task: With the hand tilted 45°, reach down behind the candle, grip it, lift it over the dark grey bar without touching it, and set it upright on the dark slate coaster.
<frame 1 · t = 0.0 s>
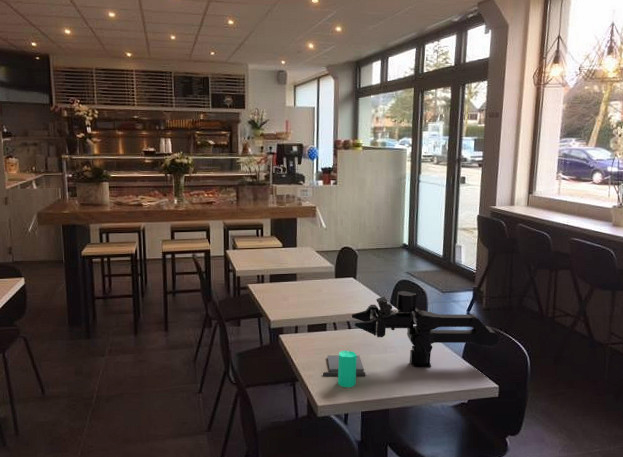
hand: (353, 320, 197), 17 cm above the table, tool horizontal, fingers open, 9 cm apart
slate coaster: (344, 364, 199), on the table
candle: (346, 383, 184), on the table
dark grey bar: (344, 376, 190), on the table
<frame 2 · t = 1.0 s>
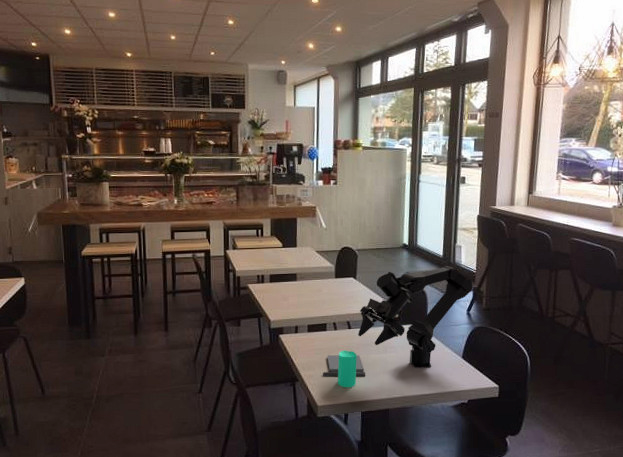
hand: (367, 339, 186), 14 cm above the table, tool tilted 45°, fingers open, 9 cm apart
nothing on the table moved.
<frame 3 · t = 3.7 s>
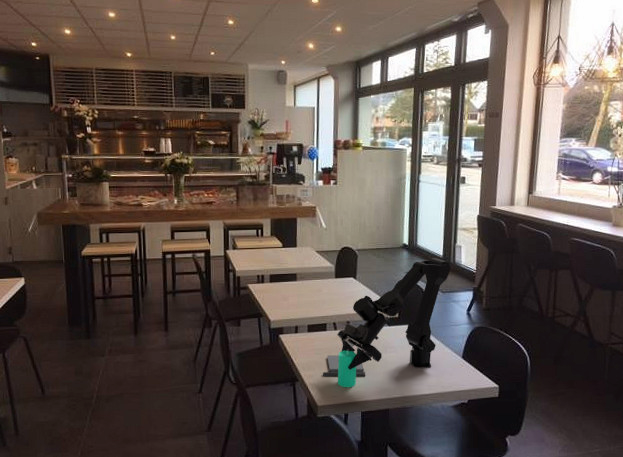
hand: (343, 365, 182), 7 cm above the table, tool tilted 45°, fingers closed on candle, 5 cm apart
candle: (346, 383, 184), on the table, touching gripper
everything else where it was.
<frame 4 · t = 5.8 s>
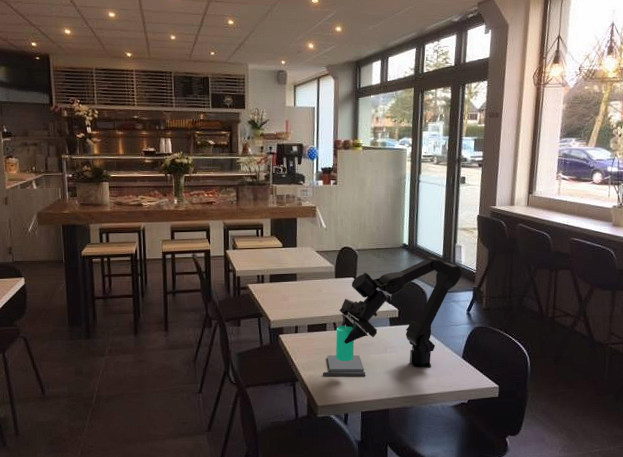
hand: (341, 339, 187), 13 cm above the table, tool tilted 45°, fingers closed on candle, 5 cm apart
candle: (344, 358, 189), point 6 cm above the table, touching gripper
everything else where it was.
when the fingers open (9 cm above the table, at t = 8.1 s): candle drops 1 cm, resting on slate coaster.
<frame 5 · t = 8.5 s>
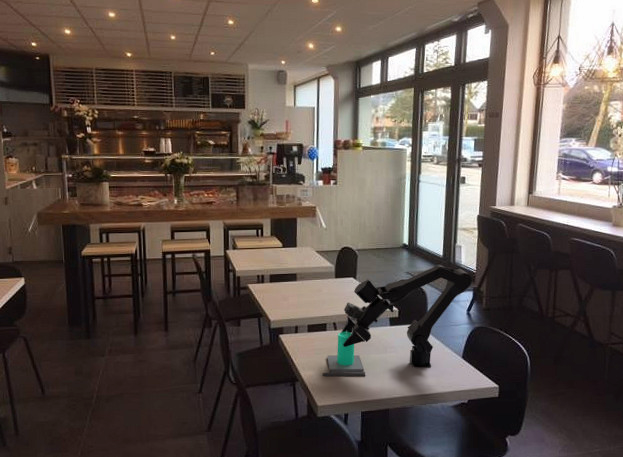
hand: (341, 341, 197), 9 cm above the table, tool tilted 45°, fingers open, 9 cm apart
candle: (345, 362, 199), point 1 cm above the table, touching slate coaster
everything else where it was.
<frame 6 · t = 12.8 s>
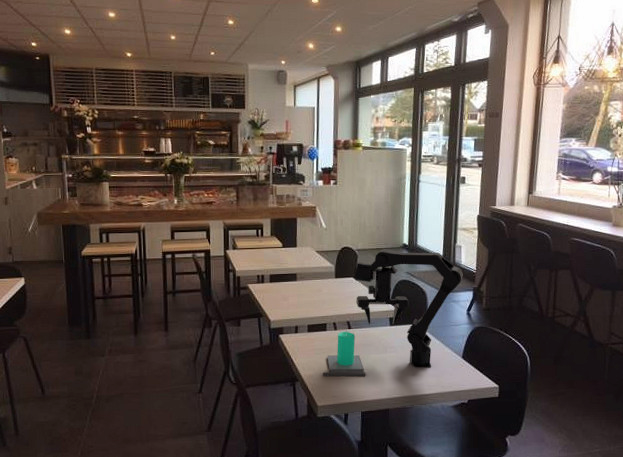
hand: (381, 324, 204), 13 cm above the table, tool pointing down, fingers open, 9 cm apart
nothing on the table moved.
at the end: candle inside the target area on the slate coaster (0.1 cm from its centre), point 0.8 cm above the slate coaster's base; candle tilted 0°; dark grey bar moved 0.3 cm from its start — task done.
